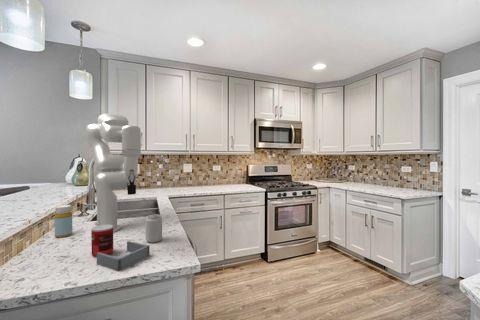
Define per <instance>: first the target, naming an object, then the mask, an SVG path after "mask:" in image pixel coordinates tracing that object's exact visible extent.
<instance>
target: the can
mask: <svg viewBox="0 0 480 320" xmlns="http://www.w3.org/2000/svg"><path fill="white" fill-rule="evenodd" d="M144 221H145V222H144V223H145V227H144V228H145V241H146V242H148V244H149V243H150V244H151V243H154V244H155V243H158V242H160V241H162V239H163V218H162V216H161V214H155V213H154V214H149V215H147V216H146V218H145V220H144Z"/></svg>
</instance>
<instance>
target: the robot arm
mask: <svg viewBox="0 0 480 320" xmlns="http://www.w3.org/2000/svg"><path fill="white" fill-rule="evenodd" d="M141 134H142V133H141V128H140V126H138V125H129V120H128V118H127V117H126V116H125V115H123V114H121V115H120V114H114V113H102V114H100V115H99V116H98V118H97V123H90V124H88V125H86V127H85V137H86V140H87V142H88V145H89V147H90V148H91V152H92V156H93V162H94V166H95V169H96V170H97V171H98V172H99V173H97V174H96V175H95V176H94V186H95V191H96V222H94V225H95V226H99V225H113V233H115V232H118V231H119V230H121V229H122V227H121V225H118V196H117V195H116V193H115V192H114V191H113V190H117V189H126V188H127V195H131V196H132V195H136V194H137V184H136V181H137V179H138V172H139V171H138V169H139V166H138V164H139V163H138V162H139V161H138V159H139V158H141V157H142V156H141V154H142V153H141V151H142V150H141V148H142V147H141V145H142V144H141V143H142V142H141V138H142V137H141V136H142V135H141ZM104 141H105V142H104ZM106 142H107V143H115V144H116V143H117V144H118V143H120V144H121V154H112V153H111V149H110V147H109V145H108V144H107V143H106Z"/></svg>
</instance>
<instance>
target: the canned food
mask: <svg viewBox="0 0 480 320" xmlns="http://www.w3.org/2000/svg"><path fill="white" fill-rule="evenodd" d="M90 235H91V242H90V243H91V255H92V257H94V258H97V253H99V252H100V253H103V254H107V255H110V256H111V254H112V253H113V252H114V232H113V225H99V226H97V225H95V226H93V227H91V233H90Z"/></svg>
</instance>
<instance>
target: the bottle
mask: <svg viewBox="0 0 480 320" xmlns="http://www.w3.org/2000/svg"><path fill="white" fill-rule="evenodd" d="M72 234H73V213H72V205H71V204H62V205H57V206H55V215H54V237H55V238H57V239H62V238H67V237H70V236H71V235H72Z"/></svg>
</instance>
